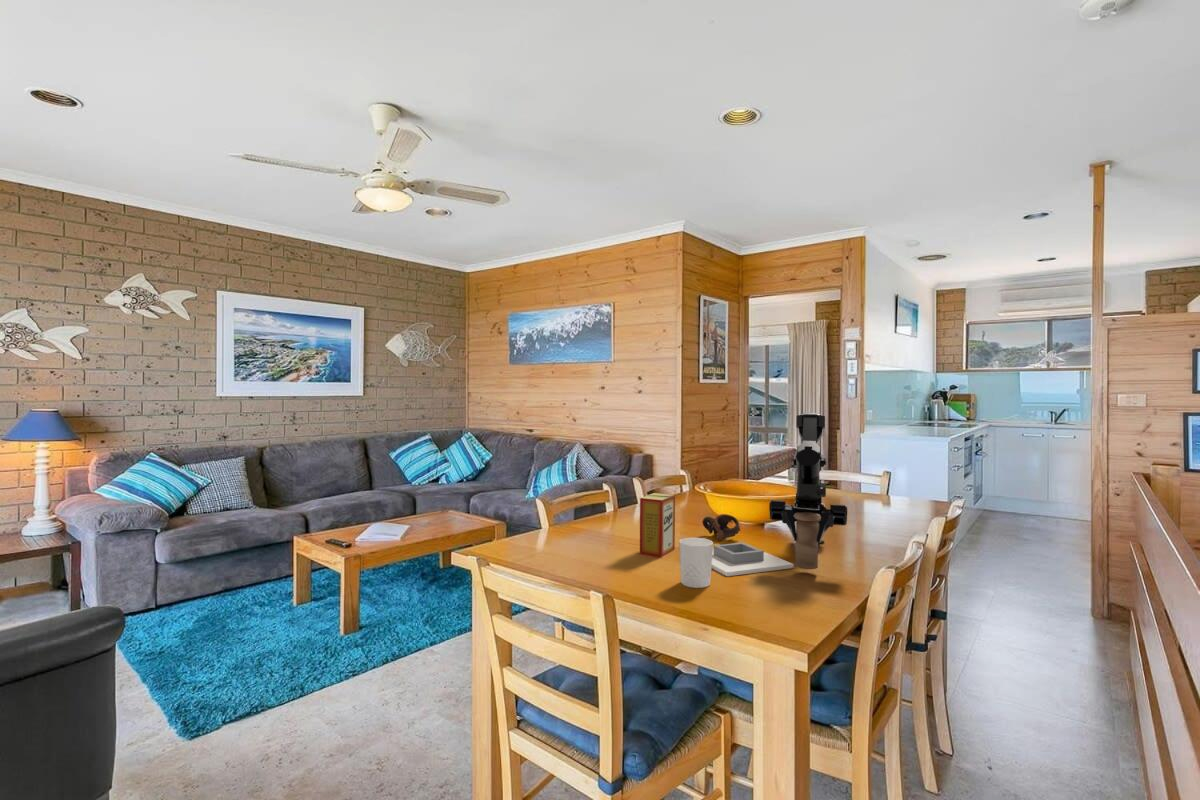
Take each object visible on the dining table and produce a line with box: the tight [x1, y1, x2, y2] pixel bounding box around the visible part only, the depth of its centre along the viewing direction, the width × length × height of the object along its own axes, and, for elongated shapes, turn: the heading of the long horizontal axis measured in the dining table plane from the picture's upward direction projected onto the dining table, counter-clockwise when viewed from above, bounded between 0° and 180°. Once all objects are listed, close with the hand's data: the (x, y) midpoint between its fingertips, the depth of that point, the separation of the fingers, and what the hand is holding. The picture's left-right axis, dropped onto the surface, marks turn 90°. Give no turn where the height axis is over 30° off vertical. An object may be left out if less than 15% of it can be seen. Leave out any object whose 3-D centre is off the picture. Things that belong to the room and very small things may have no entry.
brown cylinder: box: [795, 512, 821, 570], centre depth 150 cm, size 6×6×13 cm
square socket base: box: [711, 541, 794, 577], centre depth 161 cm, size 20×20×4 cm
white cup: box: [678, 537, 714, 589], centre depth 142 cm, size 8×8×10 cm
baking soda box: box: [639, 492, 676, 558], centre depth 170 cm, size 10×6×16 cm
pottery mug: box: [701, 513, 741, 542], centre depth 186 cm, size 12×10×8 cm
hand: (806, 541), depth 149 cm, fingers closed on brown cylinder, 5 cm apart
